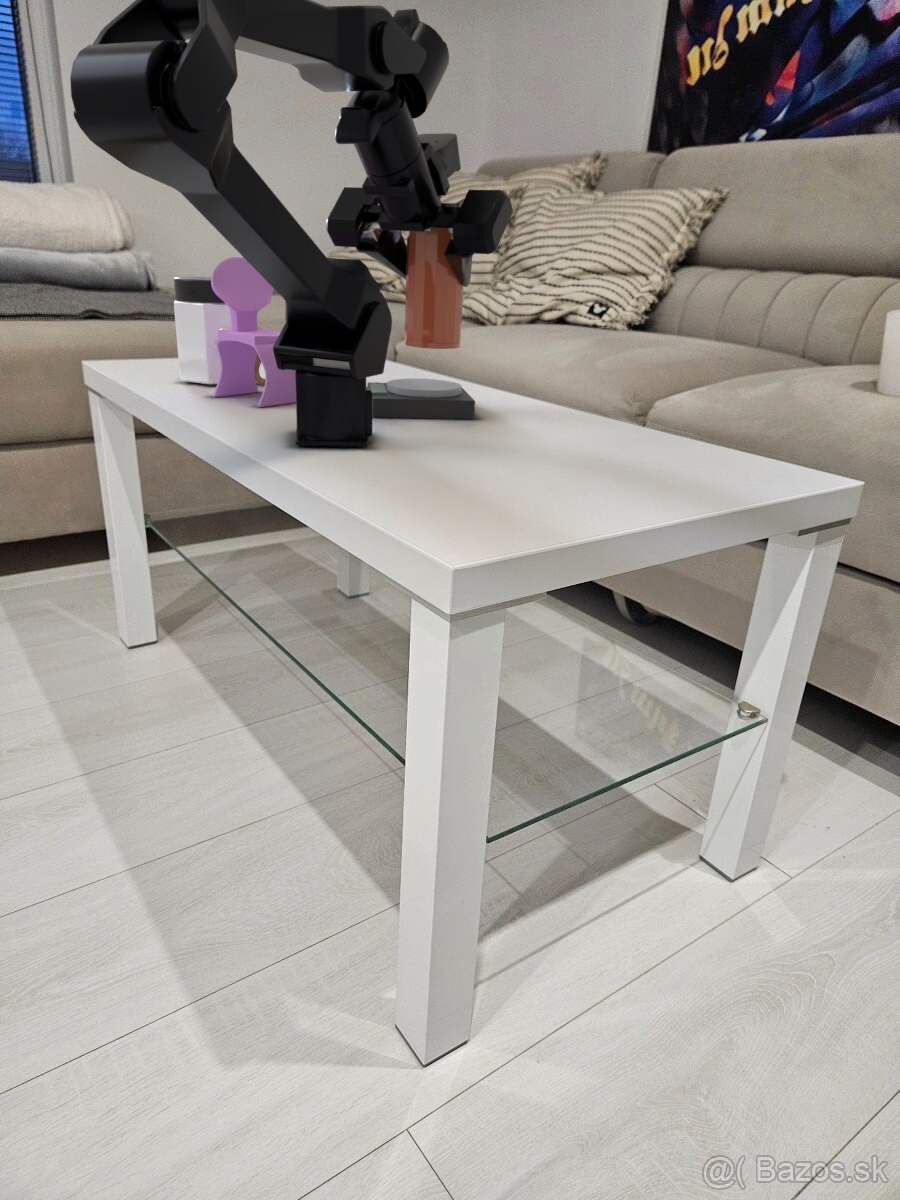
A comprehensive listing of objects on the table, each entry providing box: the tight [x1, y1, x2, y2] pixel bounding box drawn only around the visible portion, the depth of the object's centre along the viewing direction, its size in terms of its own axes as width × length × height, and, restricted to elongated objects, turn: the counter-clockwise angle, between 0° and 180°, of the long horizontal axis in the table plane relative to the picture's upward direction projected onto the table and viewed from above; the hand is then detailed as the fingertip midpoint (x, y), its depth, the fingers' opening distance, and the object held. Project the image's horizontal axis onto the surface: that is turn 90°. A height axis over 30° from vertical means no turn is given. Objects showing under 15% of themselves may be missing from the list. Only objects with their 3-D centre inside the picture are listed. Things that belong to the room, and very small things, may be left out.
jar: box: [173, 276, 232, 385], centre depth 103 cm, size 9×8×12 cm
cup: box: [404, 228, 465, 350], centre depth 89 cm, size 6×6×13 cm
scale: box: [367, 377, 476, 420], centre depth 93 cm, size 11×11×3 cm
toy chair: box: [210, 256, 296, 408], centre depth 92 cm, size 8×9×15 cm
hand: (440, 281), depth 90 cm, fingers closed on cup, 6 cm apart
